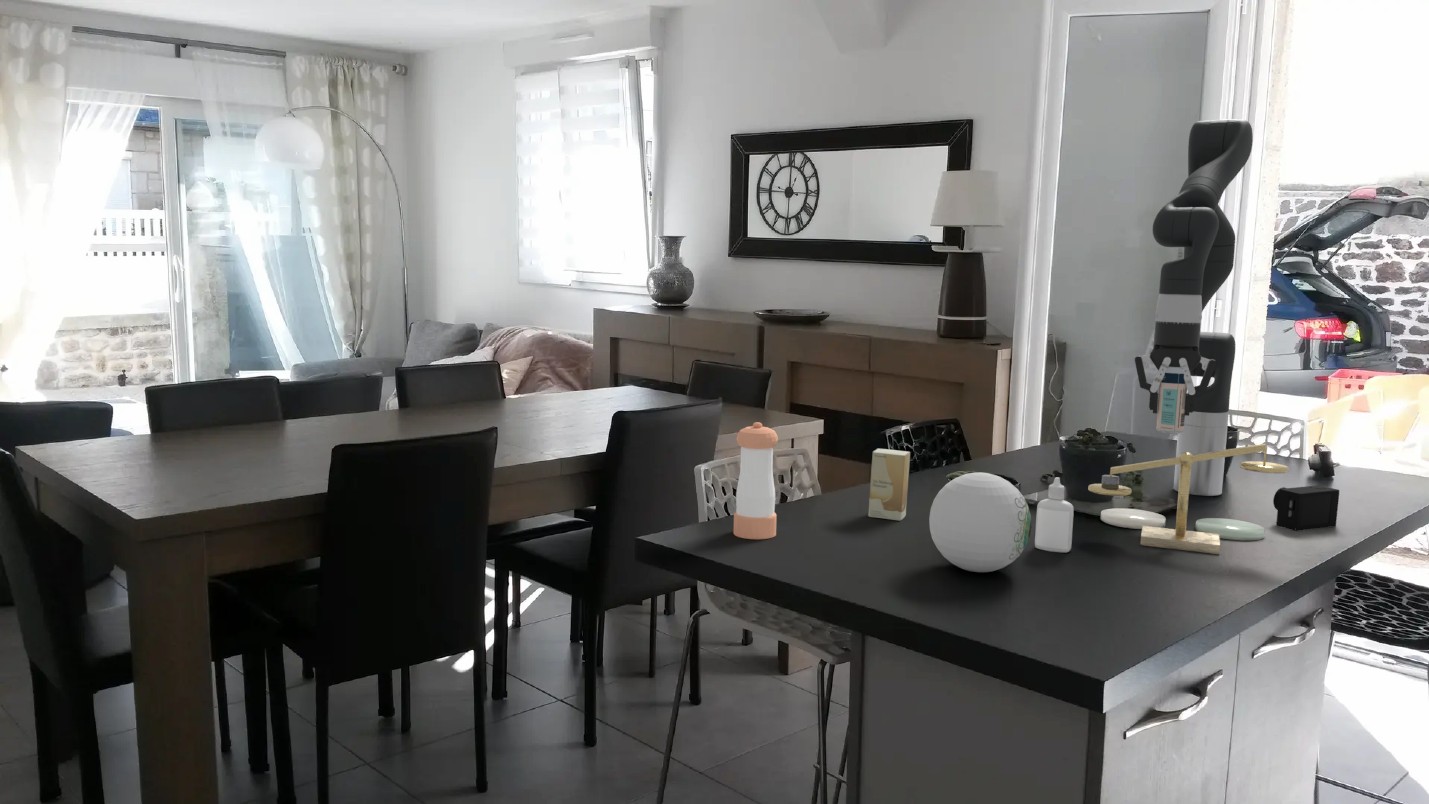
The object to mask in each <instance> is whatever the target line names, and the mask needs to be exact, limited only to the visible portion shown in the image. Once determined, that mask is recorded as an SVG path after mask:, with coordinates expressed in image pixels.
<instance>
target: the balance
mask: <svg viewBox="0 0 1429 804" xmlns="http://www.w3.org/2000/svg"><path fill="white" fill-rule="evenodd" d="M1267 451H1268V447H1267V445H1266V443H1259V444H1254V445H1248V446H1247V445H1245V446H1240V447H1236V448H1235V447H1234V448H1228V449H1227V448H1226V450H1221V451H1214V452H1208V453H1201V454H1195V455H1192V454H1191V453H1189V452H1184V453H1182V454H1180V456H1179V457H1176V456H1175V457H1170V458H1163V459H1157V460H1156V459H1155V460H1151V461H1143V462H1138V463H1137V462H1136V463H1132V464H1130V463H1129V464H1125V465H1117V466H1111V467H1110V471H1109V474H1103V475H1101V483H1092V484H1089V485H1088V488H1087V489H1088V491H1089V492H1091V493H1094V494H1098V495H1104V496H1111V497H1112V496H1113V497H1123V496H1131V495H1132V493H1133V492H1132V491H1133V490H1132V488H1130V487H1128V486H1125V485H1120V476H1118V475H1116V474H1123V473H1128V472H1136V471H1142V470H1143V471H1144V470H1148V469H1150V470H1151V469H1155V468H1156V469H1157V468H1163V467H1170V466H1175V465H1176V464H1181V467H1180V479H1179V492H1178V491H1177V492H1178V494H1177V506H1176V519H1175V529H1174V528H1165V527H1163V528H1158V527H1149V526H1143V528H1142V529H1141V535H1140V544H1139V545H1140V546H1147V547H1156V548H1164V549H1170V550H1171V549H1173V550H1181V551H1188V552H1196V553H1206V554H1214V555H1215V554H1216V555H1220V553H1221V552H1220V549H1221V541H1220V540H1221V538H1219V534H1213V533H1204V532H1198V531H1196V530H1195V531H1194V530H1187V520H1188V509H1189V508H1188V507H1189V496H1190V494H1189V485H1190V473H1191V465H1192V464H1193V462H1196V461H1203V460H1209V459H1216V458H1222V457H1225V458H1227V457H1228V458H1229V457H1234V456H1241V455H1247V454H1254V453H1261V452H1263V453H1264V454H1263V460H1262V461H1254V460H1253V461H1251V460H1250V461H1249V460H1248V461H1247V460H1245V461H1241V462H1240V464H1239V468H1240V469H1243V470H1246V471H1250V472H1255V473H1264V474H1286V473H1288V472H1289V470H1290V469H1289V466H1287V465H1284V464H1280V463H1275V462H1269V461H1268V462H1267Z"/></svg>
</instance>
